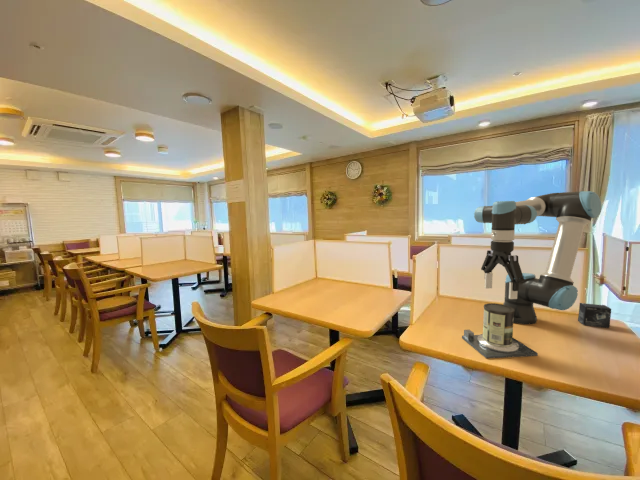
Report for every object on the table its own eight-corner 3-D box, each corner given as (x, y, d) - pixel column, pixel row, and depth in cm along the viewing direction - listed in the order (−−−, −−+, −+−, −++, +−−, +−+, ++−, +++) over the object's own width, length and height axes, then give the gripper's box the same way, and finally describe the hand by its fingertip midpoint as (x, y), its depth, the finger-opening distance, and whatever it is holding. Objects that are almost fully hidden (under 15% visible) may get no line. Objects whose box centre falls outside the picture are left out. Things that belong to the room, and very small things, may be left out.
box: (583, 325, 126) (585, 306, 125) (577, 321, 131) (579, 302, 130) (609, 328, 123) (612, 308, 122) (602, 323, 128) (604, 304, 127)
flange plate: (506, 336, 118) (507, 327, 117) (537, 356, 102) (538, 346, 101) (461, 338, 117) (462, 329, 116) (486, 358, 101) (486, 348, 100)
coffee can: (505, 336, 113) (507, 303, 112) (517, 348, 103) (519, 313, 102) (478, 334, 115) (479, 302, 114) (487, 346, 105) (489, 311, 104)
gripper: (473, 237, 118) (471, 284, 120) (518, 245, 93) (515, 304, 95) (489, 236, 118) (487, 284, 121) (538, 244, 93) (535, 303, 96)
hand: (499, 293), depth 108 cm, fingers open, 13 cm apart
